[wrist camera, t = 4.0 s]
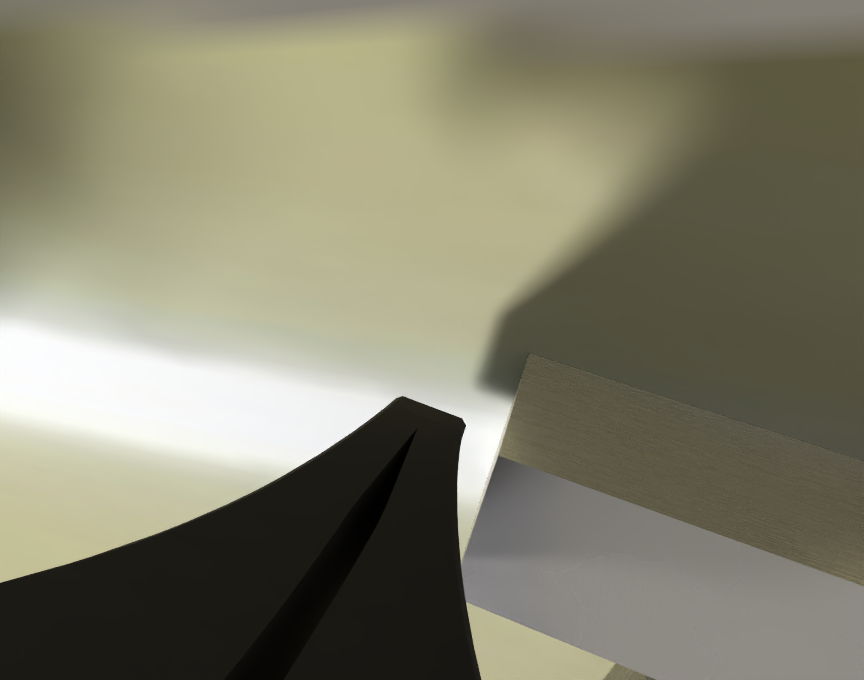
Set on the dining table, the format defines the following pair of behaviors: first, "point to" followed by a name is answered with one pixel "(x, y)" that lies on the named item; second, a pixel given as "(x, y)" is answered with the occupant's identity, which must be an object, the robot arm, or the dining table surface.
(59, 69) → the dining table surface
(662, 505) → the grey rectangular bar
